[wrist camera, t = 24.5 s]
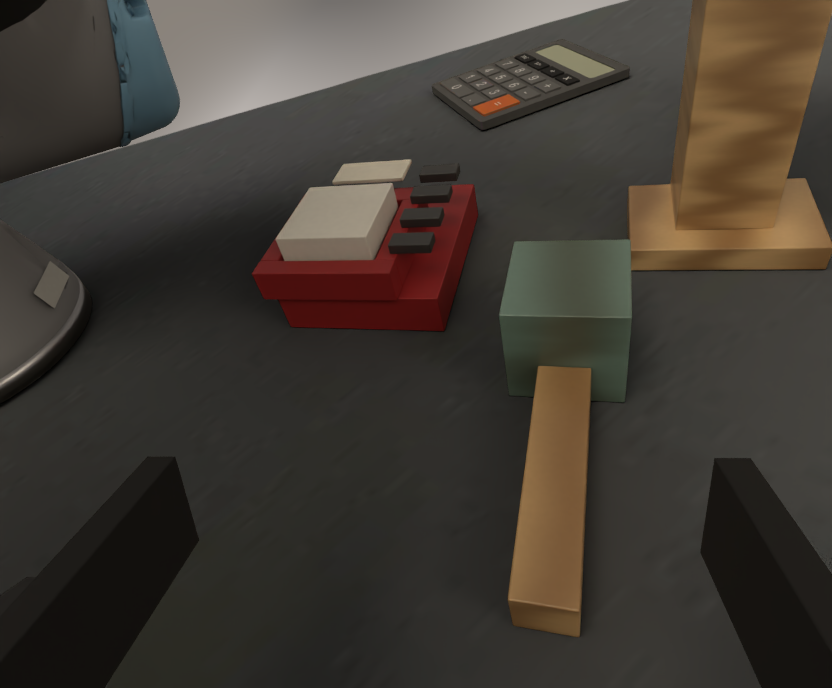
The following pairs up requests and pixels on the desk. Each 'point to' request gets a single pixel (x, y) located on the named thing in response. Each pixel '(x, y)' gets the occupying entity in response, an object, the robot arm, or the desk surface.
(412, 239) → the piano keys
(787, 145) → the stand
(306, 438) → the desk surface
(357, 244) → the white block
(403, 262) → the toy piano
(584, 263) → the mallet
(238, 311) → the desk surface
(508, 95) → the calculator
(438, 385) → the desk surface
